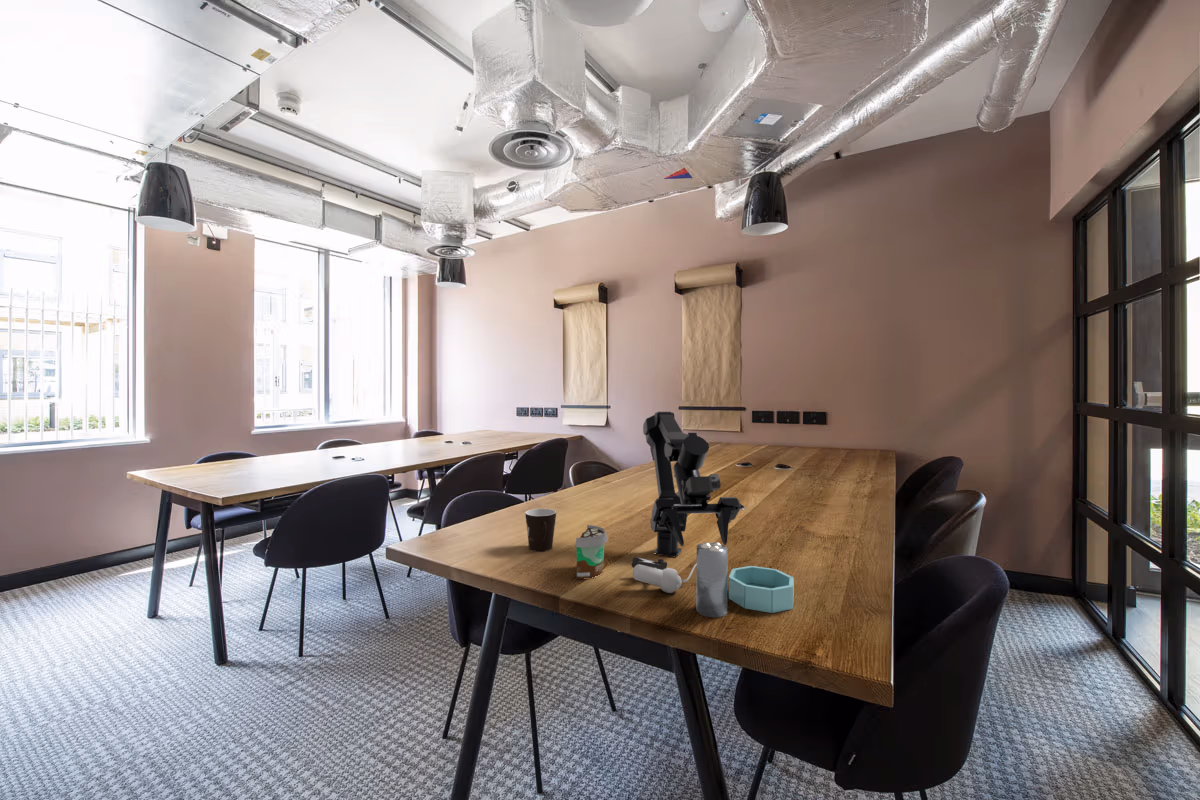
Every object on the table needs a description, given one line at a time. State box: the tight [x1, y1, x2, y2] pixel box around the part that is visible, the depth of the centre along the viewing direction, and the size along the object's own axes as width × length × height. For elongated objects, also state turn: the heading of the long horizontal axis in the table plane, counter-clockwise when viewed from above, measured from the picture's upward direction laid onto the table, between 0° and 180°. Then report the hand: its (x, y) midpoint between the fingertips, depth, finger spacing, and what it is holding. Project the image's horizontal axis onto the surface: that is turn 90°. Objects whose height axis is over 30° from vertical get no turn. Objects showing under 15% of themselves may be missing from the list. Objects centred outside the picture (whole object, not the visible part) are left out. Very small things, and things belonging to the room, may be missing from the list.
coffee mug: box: [524, 508, 557, 553], centre depth 134 cm, size 12×9×10 cm
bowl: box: [728, 565, 795, 614], centre depth 102 cm, size 13×13×4 cm
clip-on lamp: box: [630, 556, 697, 594], centre depth 109 cm, size 12×6×18 cm
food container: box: [575, 524, 608, 580], centre depth 116 cm, size 12×6×10 cm, turn 168°
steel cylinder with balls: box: [695, 541, 729, 619], centre depth 96 cm, size 6×6×13 cm
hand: (704, 544), depth 101 cm, fingers open, 9 cm apart
